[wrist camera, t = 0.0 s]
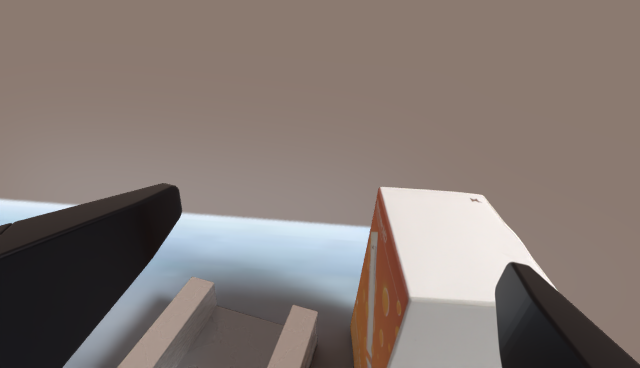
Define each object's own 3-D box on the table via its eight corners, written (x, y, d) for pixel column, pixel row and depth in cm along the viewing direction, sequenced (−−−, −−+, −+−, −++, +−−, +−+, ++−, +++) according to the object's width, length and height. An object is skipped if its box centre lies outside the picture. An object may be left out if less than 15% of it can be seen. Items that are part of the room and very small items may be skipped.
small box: (348, 326, 25) (377, 183, 19) (428, 332, 25) (485, 192, 19) (356, 454, 18) (408, 297, 12) (467, 461, 18) (580, 309, 12)
